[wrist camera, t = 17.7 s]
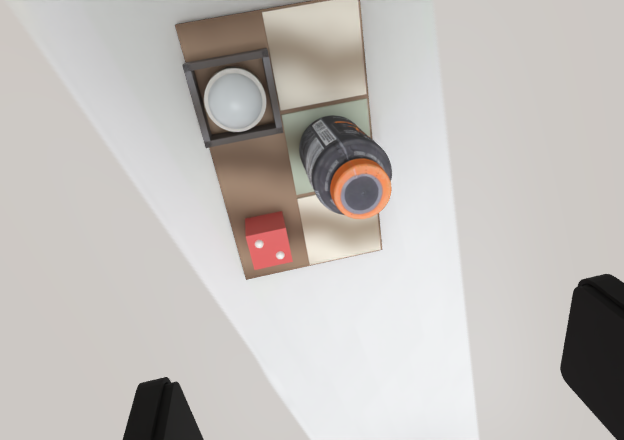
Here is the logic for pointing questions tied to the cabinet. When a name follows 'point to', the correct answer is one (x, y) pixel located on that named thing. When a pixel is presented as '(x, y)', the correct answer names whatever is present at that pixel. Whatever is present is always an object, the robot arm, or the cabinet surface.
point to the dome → (235, 99)
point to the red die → (267, 240)
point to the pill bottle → (345, 167)
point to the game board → (284, 119)
